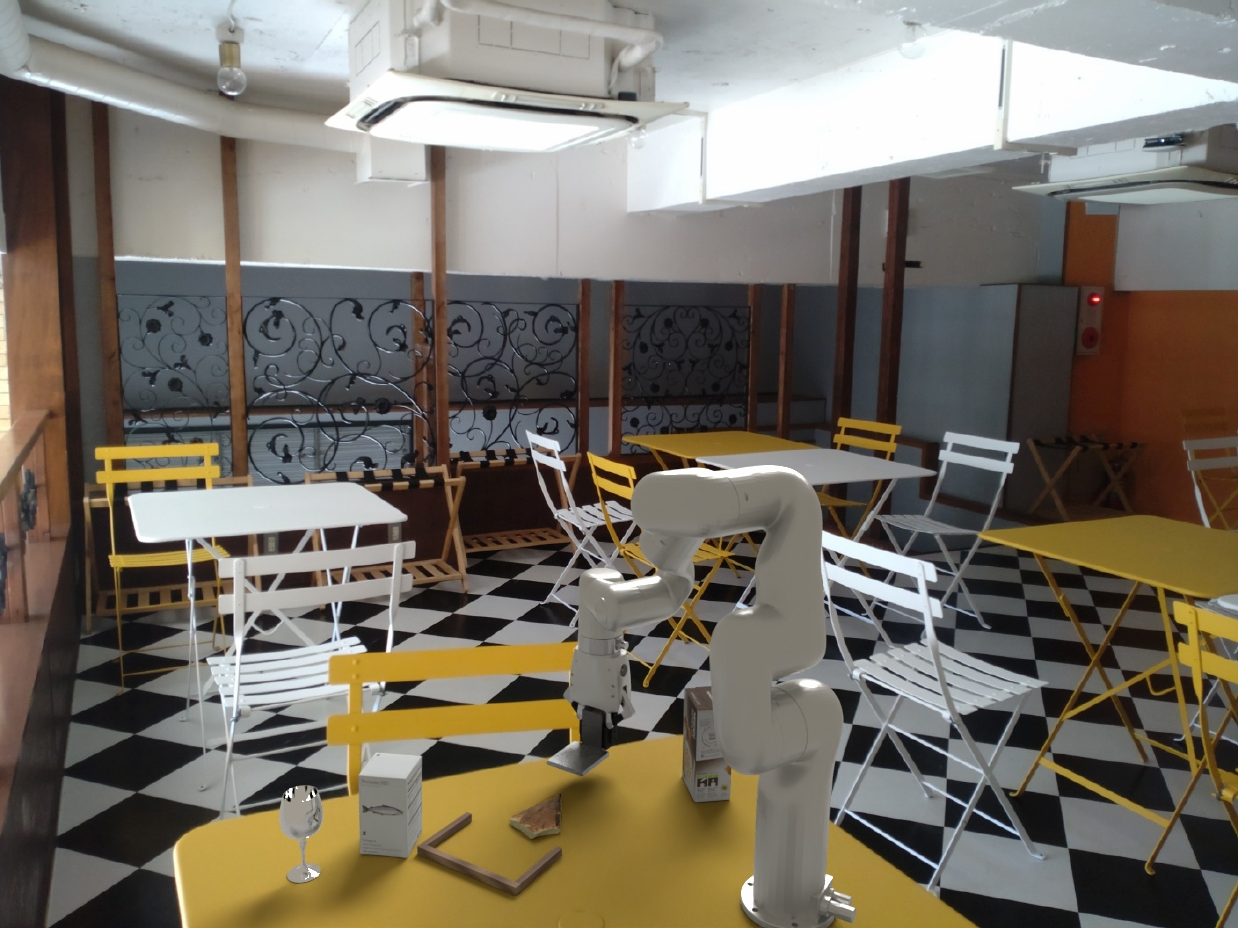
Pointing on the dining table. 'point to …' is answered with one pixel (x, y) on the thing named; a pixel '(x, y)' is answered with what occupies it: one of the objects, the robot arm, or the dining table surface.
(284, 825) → the wineglass
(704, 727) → the coffee box
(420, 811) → the supplement box
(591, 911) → the dining table surface
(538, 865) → the frame
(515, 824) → the shard
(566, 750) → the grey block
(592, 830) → the dining table surface
